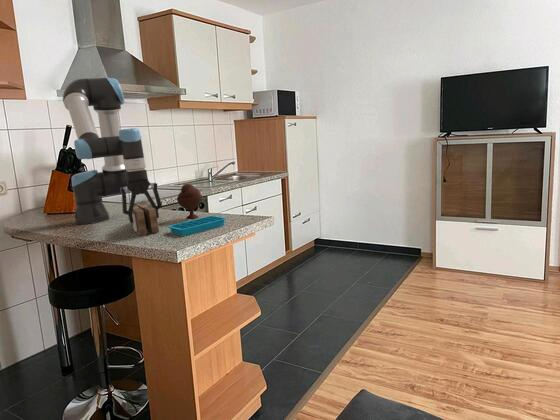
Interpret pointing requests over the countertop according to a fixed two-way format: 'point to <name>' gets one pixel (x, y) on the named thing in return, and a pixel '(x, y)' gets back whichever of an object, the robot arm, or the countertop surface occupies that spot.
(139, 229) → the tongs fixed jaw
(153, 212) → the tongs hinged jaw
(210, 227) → the ice cube tray
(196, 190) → the ice cream bowl
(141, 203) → the food container
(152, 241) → the countertop surface
